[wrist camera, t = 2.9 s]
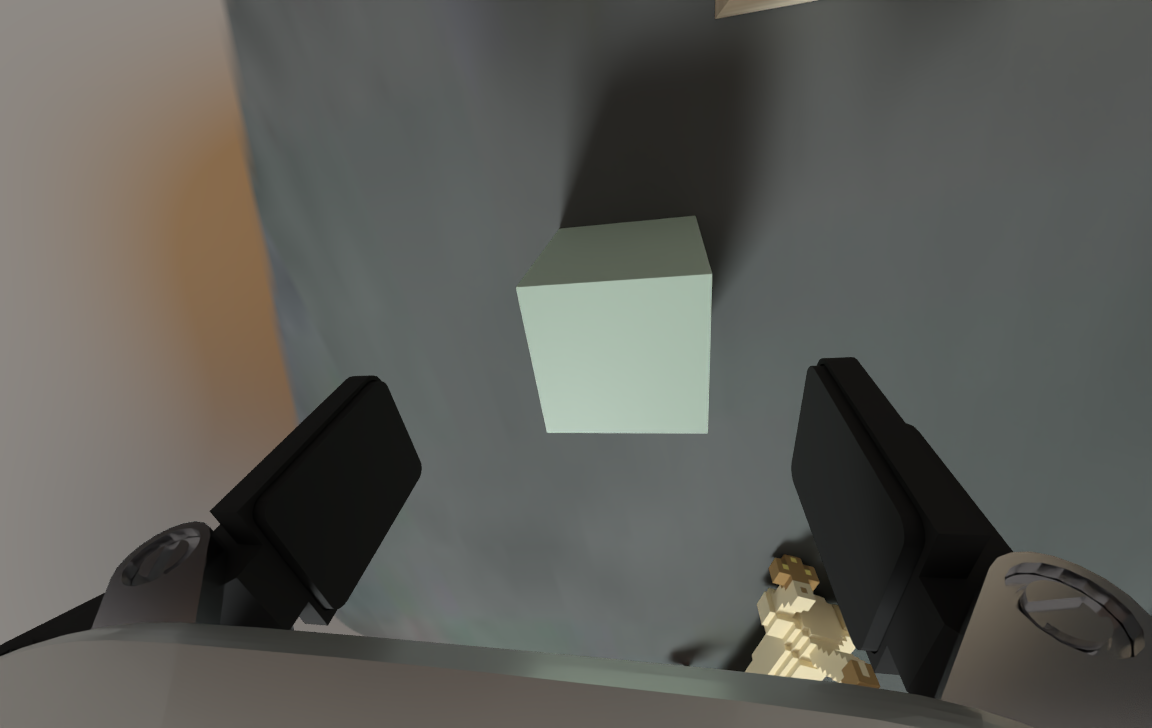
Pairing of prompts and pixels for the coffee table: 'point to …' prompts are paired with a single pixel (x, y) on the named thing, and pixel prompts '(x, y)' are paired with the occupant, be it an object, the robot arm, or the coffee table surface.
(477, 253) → the coffee table surface
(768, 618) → the cream elongated piece
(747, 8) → the base block
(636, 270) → the block
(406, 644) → the robot arm
